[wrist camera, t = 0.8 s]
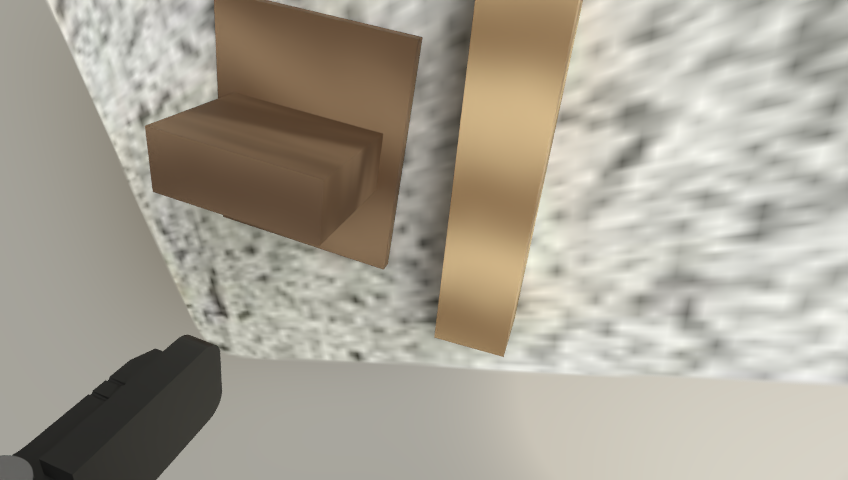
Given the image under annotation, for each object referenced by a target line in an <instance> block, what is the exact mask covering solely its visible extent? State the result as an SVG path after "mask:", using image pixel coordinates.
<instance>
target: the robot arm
mask: <svg viewBox="0 0 848 480" xmlns="http://www.w3.org/2000/svg"><path fill="white" fill-rule="evenodd" d="M221 394H222V383H221V362H220V350H219V347H218V346H216V345H214V344H211V343H209V342H206V341H203V340H201V339H198V338H196V337H193V336H191V335H184V336H181V337H180V338H178V339H177V340H176V341H175V342H174V343H172V344H171V345H170V346H169V347H168V348H167V349H165V350H164V351H160V350H158V349H153V350H151V351H149V352H147V353H145V354H143V355H140V356H138V357H136V358H134V359H132V360H130V361H129V362H127V363H126V364H125V365H124V366H122V367H121V368H120V369H119V370H117V371H116V372H115V373H114V374H113V375H111V376H110V378H109V380H108V381H104V382H103V383H102V384H100V385H99V386H98V387H97V388H96V389H94V390H93V392H92V394H91V395H87V396H86V397H85V398H83V399H82V400H81V401H80V402H79V403H77V404H76V405H75V406H74V407H73V408H71V409H70V410H69V411H68V412H66V413H65V414H64V415H63V416H62V417H60V418H59V419H58V420H57V421H56V422H54V423H53V424H52V425H51V426H49V427H48V428H47V429H46V430H45V431H43V432H42V433H41V434H40V435H39V436H37V437H36V438H35V439H34V440H32V441H31V442H30V443H29V444H28V445H26V446H25V447H24V448H22V449H21V450H20V451H18V452H17V453H15V454H13V455H12V456H11V455H2V456H0V480H156V479H157V478H158V477H159V476H160V475H161V474H162V473H163V471H164V470H165V469H166V468H167V467H168V466H169V465H170V463H171V462H172V461H173V460H174V459H175V458H176V457H177V456H178V454H179V453H180V452H181V451H182V450H183V449H184V448H185V447H186V445H187V444H188V443H189V442H190V441H191V440H192V439H193V438H194V436H195V435H196V434H197V433H198V432H199V431H200V430H201V429H202V427H203V426H204V425H205V424H206V423H207V422H208V420H210V418H211V417H212V416H213V414H214V413H215V411H216V409H217V407H218V405H219V402H220V399H221Z"/></svg>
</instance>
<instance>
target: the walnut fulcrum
mask: <svg viewBox="0 0 848 480" xmlns="http://www.w3.org/2000/svg"><path fill="white" fill-rule="evenodd" d="M214 11H215V35H216V58H217V82H218V99H216V100H213V101H211V102H208V103H205V104H203V105H200V106H197V107H195V108H192V109H189V110H186V111H184V112H181V113H178V114H176V115H173V116H170V117H168V118H165V119H162V120H159V121H157V122H154V123H151V124H149V125H146V126H145V130H146V138H147V147H148V155H149V163H150V172H151V180H152V189H153V192H155V193H158V194H161V195H164V196H167V197H170V198H173V199H176V200H180V201H183V202H186V203H189V204H192V205H195V206H198V207H201V208H204V209H207V210H210V211H213V212H216V213H219V214H222V215H223V217H226V218H229V219H232V220H235V221H238V222H241V223H244V224H247V225H250V226H253V227H256V228H260V229H263V230H266V231H269V232H272V233H275V234H278V235H281V236H284V237H287V238H290V239H293V240H296V241H299V242H302V243H305V244H308V245H311V246H314V247H317V248H320V249H323V250H326V251H329V252H332V253H335V254H338V255H341V256H344V257H347V258H350V259H353V260H357V261H360V262H363V263H366V264H369V265H372V266H375V267H378V268H381V269H384V268H385V267H386V266H387V264H388V259H389V253H390V246H391V239H392V233H393V226H394V220H395V213H396V207H397V200H398V194H399V187H400V181H401V174H402V168H403V161H404V154H405V148H406V141H407V135H408V128H409V122H410V115H411V109H412V102H413V96H414V89H415V82H416V76H417V69H418V63H419V56H420V50H421V43H422V37H419V36H415V35H411V34H406V33H402V32H398V31H394V30H390V29H385V28H381V27H377V26H373V25H369V24H364V23H360V22H356V21H352V20H347V19H343V18H339V17H335V16H331V15H326V14H322V13H318V12H314V11H310V10H305V9H301V8H297V7H293V6H289V5H284V4H280V3H276V2H272V1H268V0H214Z"/></svg>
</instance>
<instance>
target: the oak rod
mask: <svg viewBox="0 0 848 480" xmlns="http://www.w3.org/2000/svg"><path fill="white" fill-rule="evenodd" d="M582 2H583V0H475V5H474V14H473V22H472V30H471V39H470V47H469V55H468V63H467V72H466V80H465V88H464V97H463V105H462V113H461V121H460V130H459V138H458V146H457V155H456V163H455V171H454V179H453V188H452V196H451V204H450V212H449V221H448V229H447V237H446V246H445V254H444V262H443V270H442V279H441V287H440V295H439V304H438V312H437V320H436V328H435V338H438V339H442V340H445V341H449V342H452V343H456V344H460V345H463V346H467V347H470V348H474V349H477V350H481V351H485V352H488V353H492V354H495V355H499V356H502V357H504V353H505V350H506V346H507V343H508V340H509V336H510V333H511V329H512V326H513V322H514V319H515V314H516V310H517V305H518V300H519V296H520V291H521V286H522V282H523V277H524V272H525V268H526V263H527V258H528V254H529V249H530V244H531V240H532V235H533V230H534V226H535V221H536V216H537V212H538V207H539V202H540V198H541V193H542V188H543V184H544V179H545V174H546V170H547V165H548V160H549V156H550V151H551V146H552V142H553V137H554V132H555V128H556V123H557V118H558V114H559V109H560V104H561V100H562V95H563V90H564V86H565V81H566V76H567V72H568V67H569V62H570V58H571V53H572V48H573V44H574V39H575V34H576V30H577V25H578V21H579V16H580V11H581V7H582Z"/></svg>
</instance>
